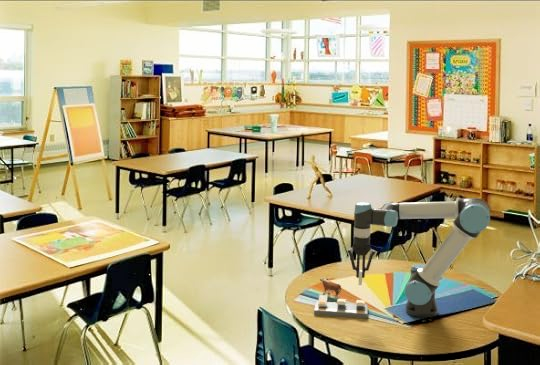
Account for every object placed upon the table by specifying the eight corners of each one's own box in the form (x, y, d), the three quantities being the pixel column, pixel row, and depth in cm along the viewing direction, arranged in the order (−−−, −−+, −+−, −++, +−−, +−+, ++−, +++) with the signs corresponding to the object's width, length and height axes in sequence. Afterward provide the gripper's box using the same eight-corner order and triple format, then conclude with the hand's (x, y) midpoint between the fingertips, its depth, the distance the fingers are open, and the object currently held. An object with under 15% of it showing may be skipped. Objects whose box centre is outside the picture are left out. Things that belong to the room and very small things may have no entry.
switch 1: (327, 297, 289) (327, 295, 288) (326, 306, 283) (326, 304, 282) (319, 296, 289) (319, 294, 289) (318, 306, 283) (318, 303, 283)
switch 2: (364, 302, 286) (364, 300, 286) (364, 306, 279) (364, 303, 279) (356, 302, 286) (356, 299, 286) (355, 305, 279) (356, 302, 279)
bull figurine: (323, 290, 311) (323, 275, 309) (342, 297, 301) (342, 282, 300) (317, 292, 308) (317, 277, 306) (337, 299, 298) (337, 284, 297)
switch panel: (367, 308, 287) (367, 301, 287) (367, 318, 276) (367, 311, 276) (316, 304, 292) (316, 298, 291) (314, 314, 281) (314, 307, 280)
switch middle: (346, 301, 287) (346, 299, 287) (345, 304, 280) (345, 302, 280) (337, 301, 288) (337, 298, 288) (336, 304, 281) (336, 301, 281)
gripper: (376, 234, 276) (374, 282, 280) (348, 232, 278) (346, 280, 283) (376, 238, 268) (374, 287, 273) (347, 237, 271) (345, 285, 275)
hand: (360, 283), depth 278 cm, fingers closed
